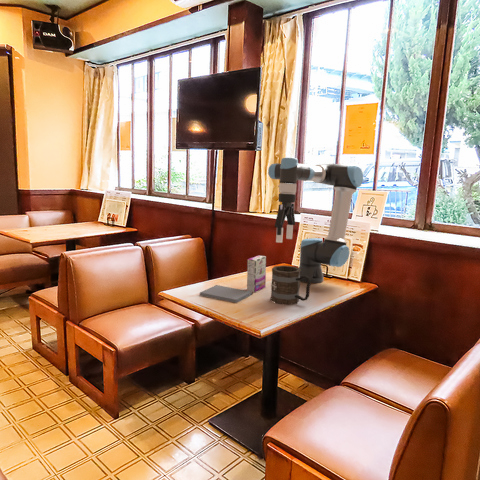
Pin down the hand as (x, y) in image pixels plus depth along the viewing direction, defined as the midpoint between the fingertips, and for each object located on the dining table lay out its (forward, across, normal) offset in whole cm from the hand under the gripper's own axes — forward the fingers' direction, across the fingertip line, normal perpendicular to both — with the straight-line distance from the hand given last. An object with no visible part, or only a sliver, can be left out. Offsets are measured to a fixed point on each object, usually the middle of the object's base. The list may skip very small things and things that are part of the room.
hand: (284, 240), depth 183 cm
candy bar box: (+28, -12, -17) cm, 35 cm away
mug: (+28, -2, +4) cm, 29 cm away
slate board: (+29, +4, -26) cm, 39 cm away
